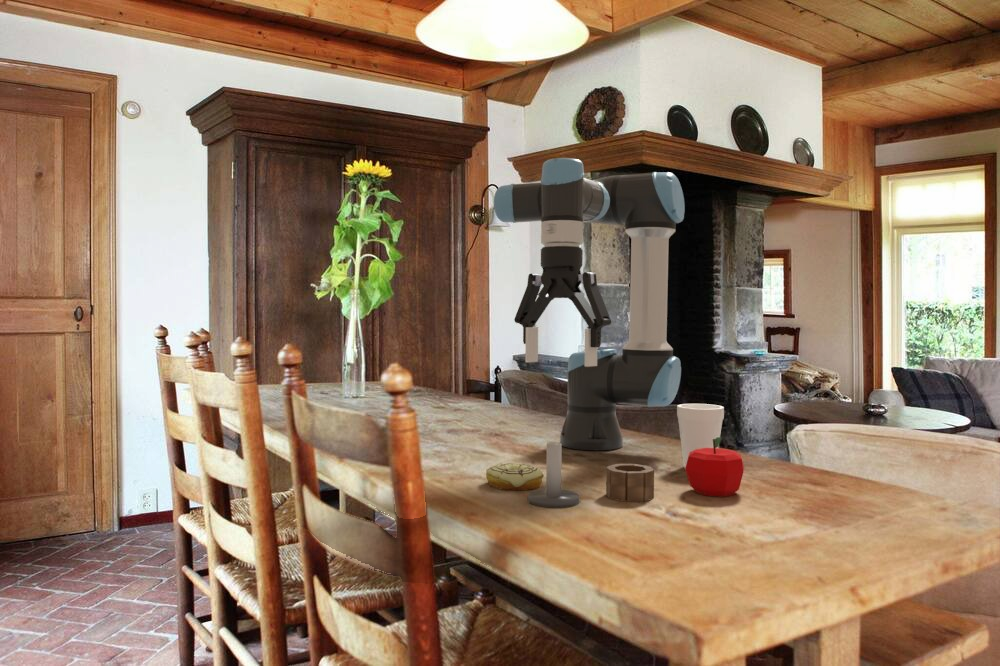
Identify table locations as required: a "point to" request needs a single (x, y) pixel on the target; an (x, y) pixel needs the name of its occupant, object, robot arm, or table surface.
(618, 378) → the robot arm
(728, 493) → the apple
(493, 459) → the table surface
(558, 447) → the post
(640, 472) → the ring
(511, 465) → the decorated donut
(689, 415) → the foam cup
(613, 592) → the table surface
